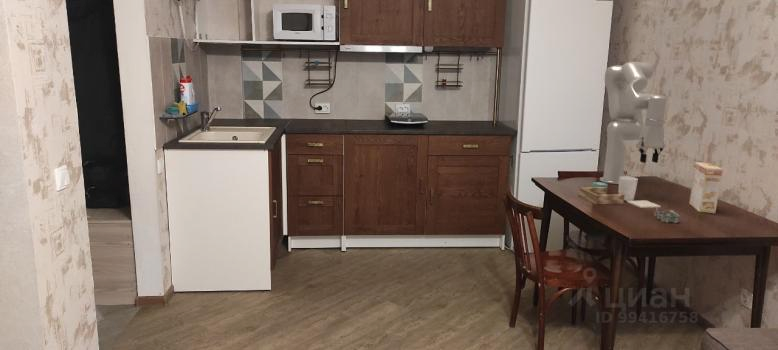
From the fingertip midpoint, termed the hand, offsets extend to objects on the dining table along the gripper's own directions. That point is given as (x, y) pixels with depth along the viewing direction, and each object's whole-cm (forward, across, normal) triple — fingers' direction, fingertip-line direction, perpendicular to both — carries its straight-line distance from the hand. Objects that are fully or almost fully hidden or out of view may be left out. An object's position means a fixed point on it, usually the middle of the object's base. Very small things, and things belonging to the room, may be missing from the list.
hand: (648, 161), depth 274 cm
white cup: (+18, +10, 0) cm, 20 cm away
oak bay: (+18, +22, 0) cm, 29 cm away
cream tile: (+18, +8, +10) cm, 22 cm away
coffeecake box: (+18, -16, +18) cm, 30 cm away
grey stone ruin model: (+18, +13, +32) cm, 38 cm away
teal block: (+18, +16, -11) cm, 27 cm away
